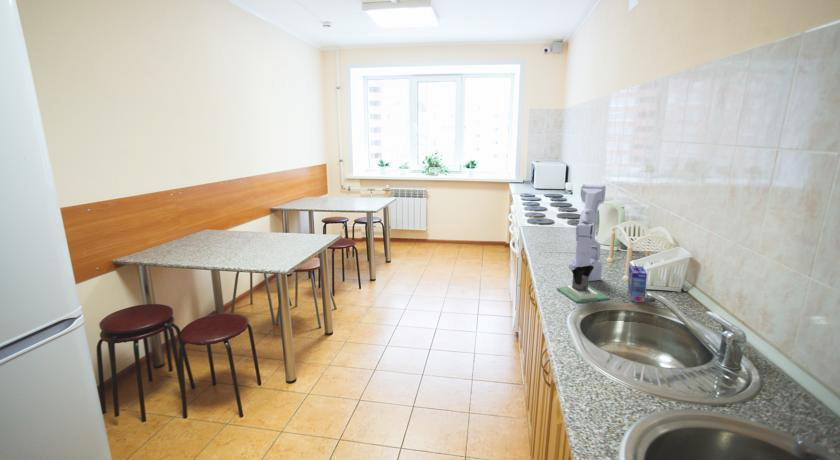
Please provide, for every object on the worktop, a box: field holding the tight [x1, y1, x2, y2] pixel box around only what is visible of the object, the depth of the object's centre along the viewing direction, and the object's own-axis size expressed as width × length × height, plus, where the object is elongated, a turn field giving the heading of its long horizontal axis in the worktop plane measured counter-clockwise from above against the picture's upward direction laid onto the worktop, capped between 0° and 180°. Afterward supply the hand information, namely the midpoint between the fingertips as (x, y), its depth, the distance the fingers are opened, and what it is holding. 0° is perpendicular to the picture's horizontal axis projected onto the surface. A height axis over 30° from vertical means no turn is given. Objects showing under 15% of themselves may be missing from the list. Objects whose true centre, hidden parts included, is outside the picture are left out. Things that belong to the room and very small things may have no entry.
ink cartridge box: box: [627, 262, 648, 303], centre depth 164 cm, size 10×6×14 cm, turn 161°
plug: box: [571, 274, 589, 292], centre depth 168 cm, size 4×6×6 cm, turn 31°
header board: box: [556, 284, 611, 304], centre depth 170 cm, size 15×15×3 cm
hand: (581, 283), depth 169 cm, fingers closed on plug, 3 cm apart
